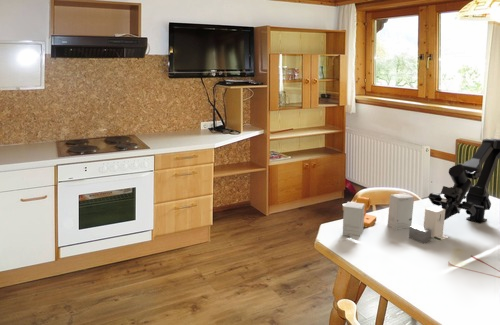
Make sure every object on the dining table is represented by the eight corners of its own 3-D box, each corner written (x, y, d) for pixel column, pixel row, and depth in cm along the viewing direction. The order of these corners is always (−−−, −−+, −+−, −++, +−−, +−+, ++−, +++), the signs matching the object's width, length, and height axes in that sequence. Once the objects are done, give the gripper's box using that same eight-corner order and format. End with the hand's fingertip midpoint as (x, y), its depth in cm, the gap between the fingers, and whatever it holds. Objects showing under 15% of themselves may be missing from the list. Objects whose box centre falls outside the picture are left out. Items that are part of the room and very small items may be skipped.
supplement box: (363, 232, 186) (365, 203, 183) (359, 238, 179) (361, 208, 176) (346, 229, 189) (347, 201, 186) (341, 235, 182) (343, 206, 179)
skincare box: (395, 232, 186) (397, 198, 183) (386, 227, 192) (389, 194, 188) (411, 230, 188) (415, 196, 185) (403, 225, 194) (405, 192, 191)
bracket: (368, 229, 189) (370, 202, 186) (352, 226, 193) (354, 199, 190) (376, 222, 198) (378, 196, 195) (360, 218, 202) (362, 193, 199)
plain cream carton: (431, 231, 184) (434, 206, 181) (448, 237, 178) (451, 211, 175) (417, 236, 179) (420, 210, 176) (434, 242, 172) (437, 215, 170)
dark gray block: (414, 236, 179) (415, 224, 178) (430, 241, 174) (431, 229, 172) (408, 238, 177) (409, 226, 176) (424, 244, 171) (425, 232, 170)
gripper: (432, 174, 189) (414, 203, 185) (475, 184, 174) (456, 216, 170) (441, 188, 195) (424, 217, 191) (483, 199, 180) (465, 231, 176)
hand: (441, 220), depth 182 cm, fingers closed
